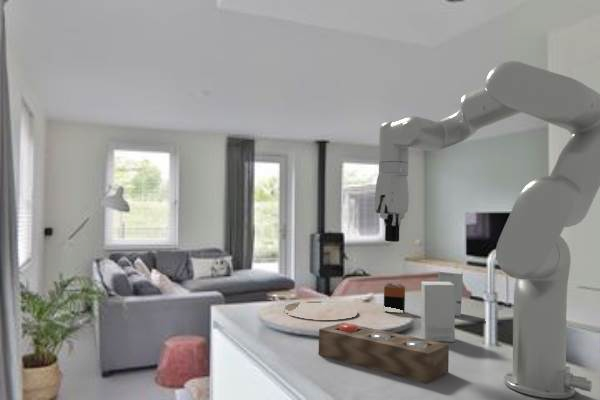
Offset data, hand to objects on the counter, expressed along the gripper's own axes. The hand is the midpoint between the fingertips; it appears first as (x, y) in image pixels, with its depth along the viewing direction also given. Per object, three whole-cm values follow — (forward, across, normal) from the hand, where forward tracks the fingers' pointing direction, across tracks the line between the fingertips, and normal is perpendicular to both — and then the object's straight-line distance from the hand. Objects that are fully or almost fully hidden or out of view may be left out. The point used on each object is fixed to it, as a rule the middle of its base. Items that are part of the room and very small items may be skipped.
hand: (392, 241), depth 122 cm
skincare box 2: (+27, -53, -7) cm, 60 cm away
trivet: (+28, -21, -39) cm, 52 cm away
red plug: (+26, +13, -4) cm, 29 cm away
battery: (+27, -41, -22) cm, 54 cm away
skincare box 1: (+27, -17, +5) cm, 33 cm away
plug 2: (+26, +13, +14) cm, 32 cm away
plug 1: (+26, +13, +5) cm, 30 cm away
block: (+27, +13, +5) cm, 30 cm away
